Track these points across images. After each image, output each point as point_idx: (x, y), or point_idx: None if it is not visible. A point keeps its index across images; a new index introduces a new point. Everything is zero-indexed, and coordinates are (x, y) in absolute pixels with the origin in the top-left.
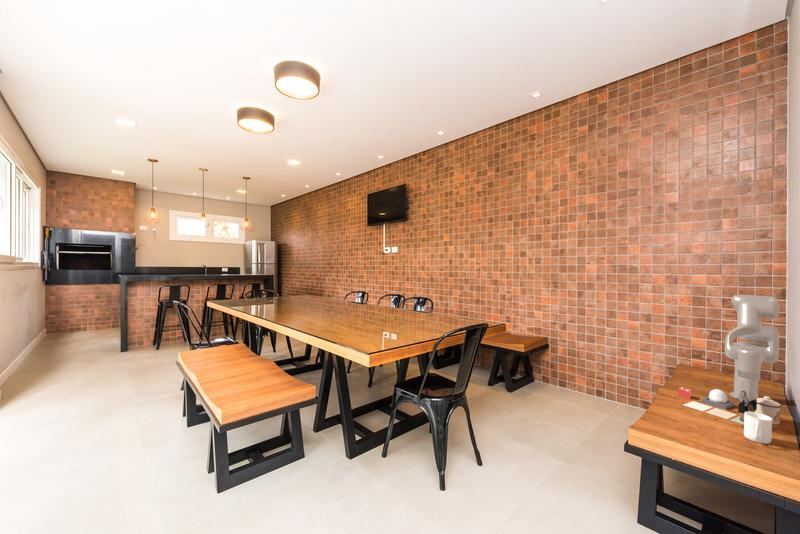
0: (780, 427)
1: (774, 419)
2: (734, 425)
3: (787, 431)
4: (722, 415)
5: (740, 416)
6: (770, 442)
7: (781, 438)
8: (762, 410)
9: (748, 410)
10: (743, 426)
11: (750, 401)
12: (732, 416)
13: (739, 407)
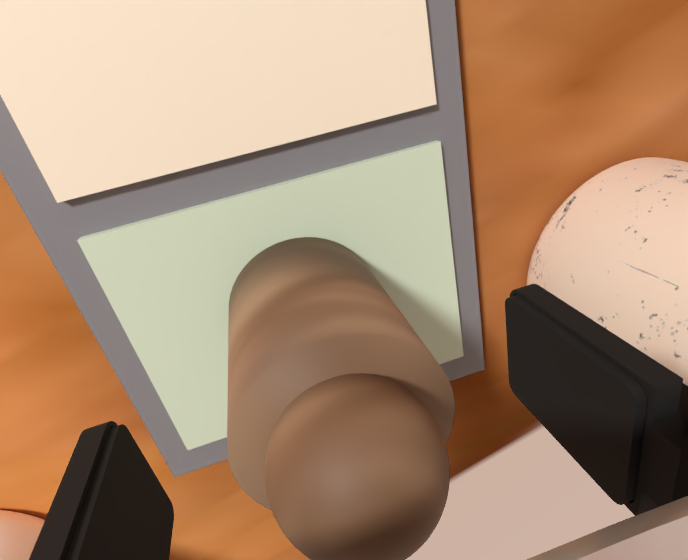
0: None
1: None
2: (50, 314)
3: (488, 449)
4: (122, 63)
5: (238, 302)
6: None
7: (268, 549)
8: None
9: (264, 500)
10: (123, 376)
11: (622, 437)
12: (272, 142)
13: (59, 532)
